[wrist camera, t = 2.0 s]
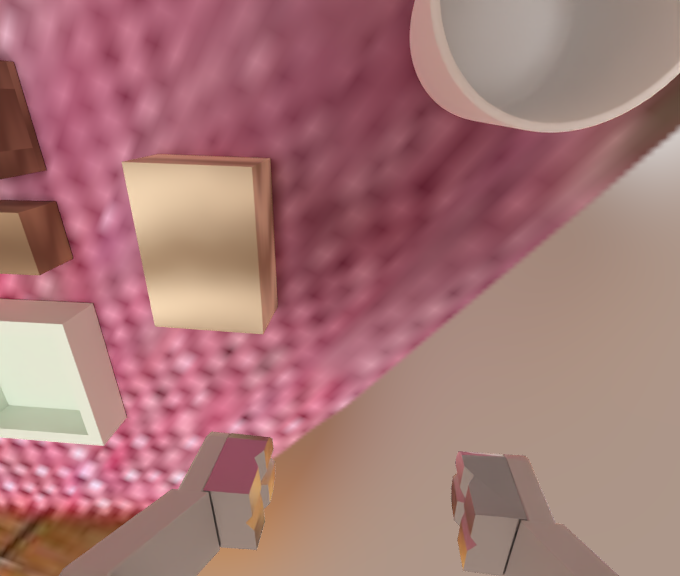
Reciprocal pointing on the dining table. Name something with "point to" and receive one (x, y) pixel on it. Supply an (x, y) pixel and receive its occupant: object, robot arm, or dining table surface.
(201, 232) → the board
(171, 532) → the robot arm
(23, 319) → the tray
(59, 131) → the dining table surface
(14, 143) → the socket block
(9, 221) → the small brown block
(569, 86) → the cup
